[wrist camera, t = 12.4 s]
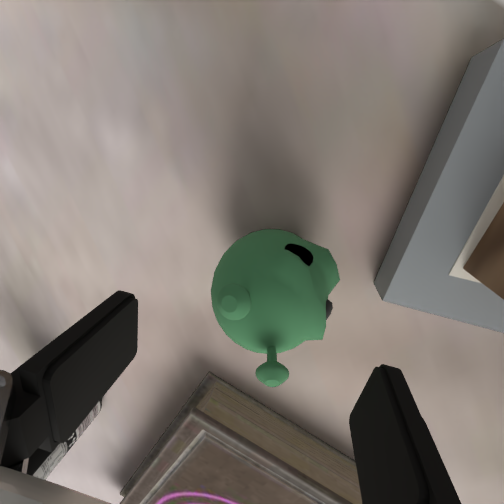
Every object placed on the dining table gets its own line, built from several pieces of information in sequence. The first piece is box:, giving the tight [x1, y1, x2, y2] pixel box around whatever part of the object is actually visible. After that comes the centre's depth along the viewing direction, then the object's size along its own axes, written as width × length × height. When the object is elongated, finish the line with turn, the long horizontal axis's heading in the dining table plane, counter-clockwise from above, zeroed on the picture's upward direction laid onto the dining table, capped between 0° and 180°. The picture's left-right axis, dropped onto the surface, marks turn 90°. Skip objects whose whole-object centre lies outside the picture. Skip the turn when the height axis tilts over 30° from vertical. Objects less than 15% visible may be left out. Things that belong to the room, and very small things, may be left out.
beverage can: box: [26, 398, 102, 480], centre depth 26 cm, size 7×7×12 cm
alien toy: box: [211, 229, 340, 387], centre depth 15 cm, size 7×8×10 cm
